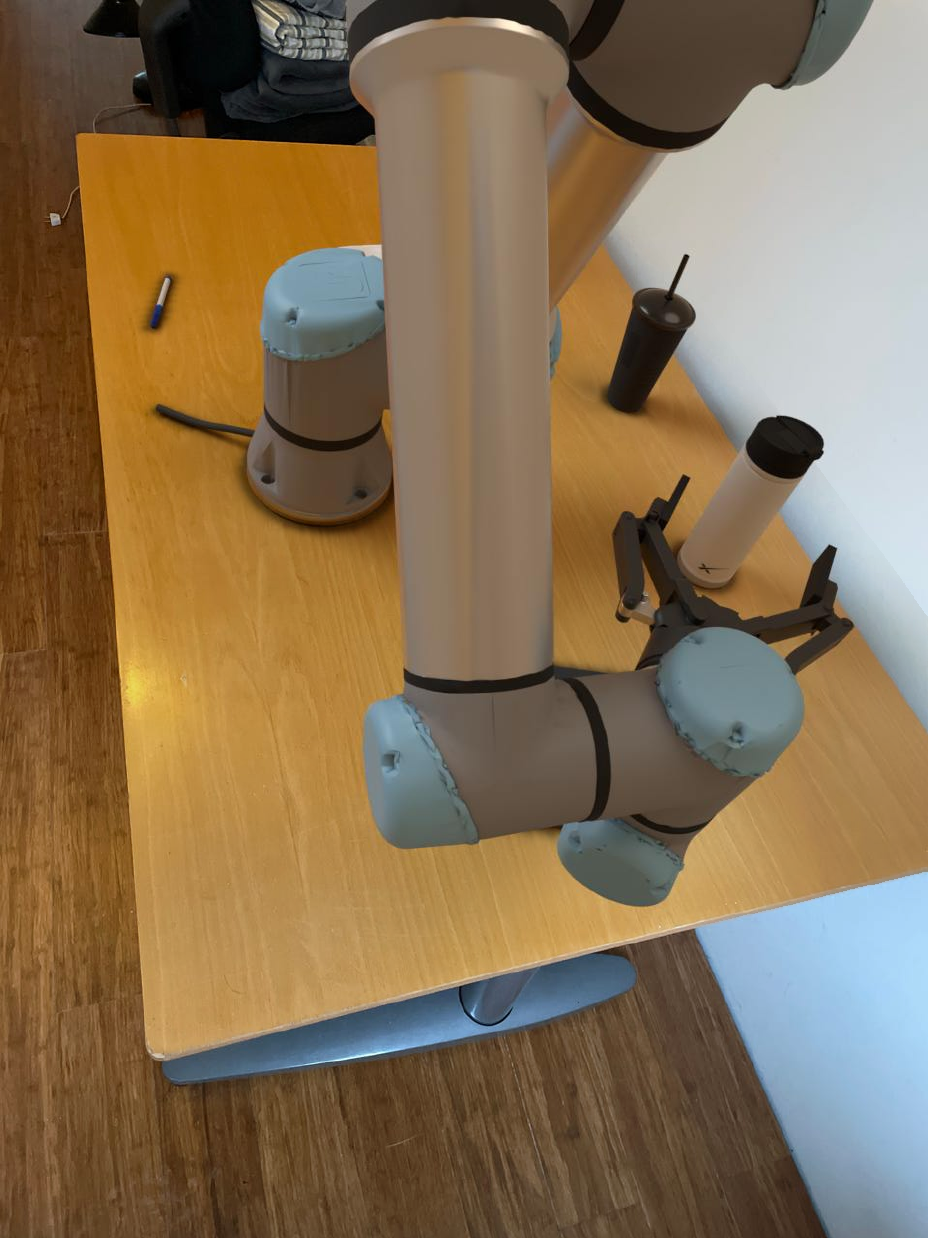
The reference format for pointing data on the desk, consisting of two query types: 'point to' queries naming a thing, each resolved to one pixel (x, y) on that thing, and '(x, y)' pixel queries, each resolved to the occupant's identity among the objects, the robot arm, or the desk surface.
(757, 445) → the travel mug
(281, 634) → the desk surface
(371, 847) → the desk surface
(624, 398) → the drinking cup
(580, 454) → the desk surface
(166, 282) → the ballpoint pen
